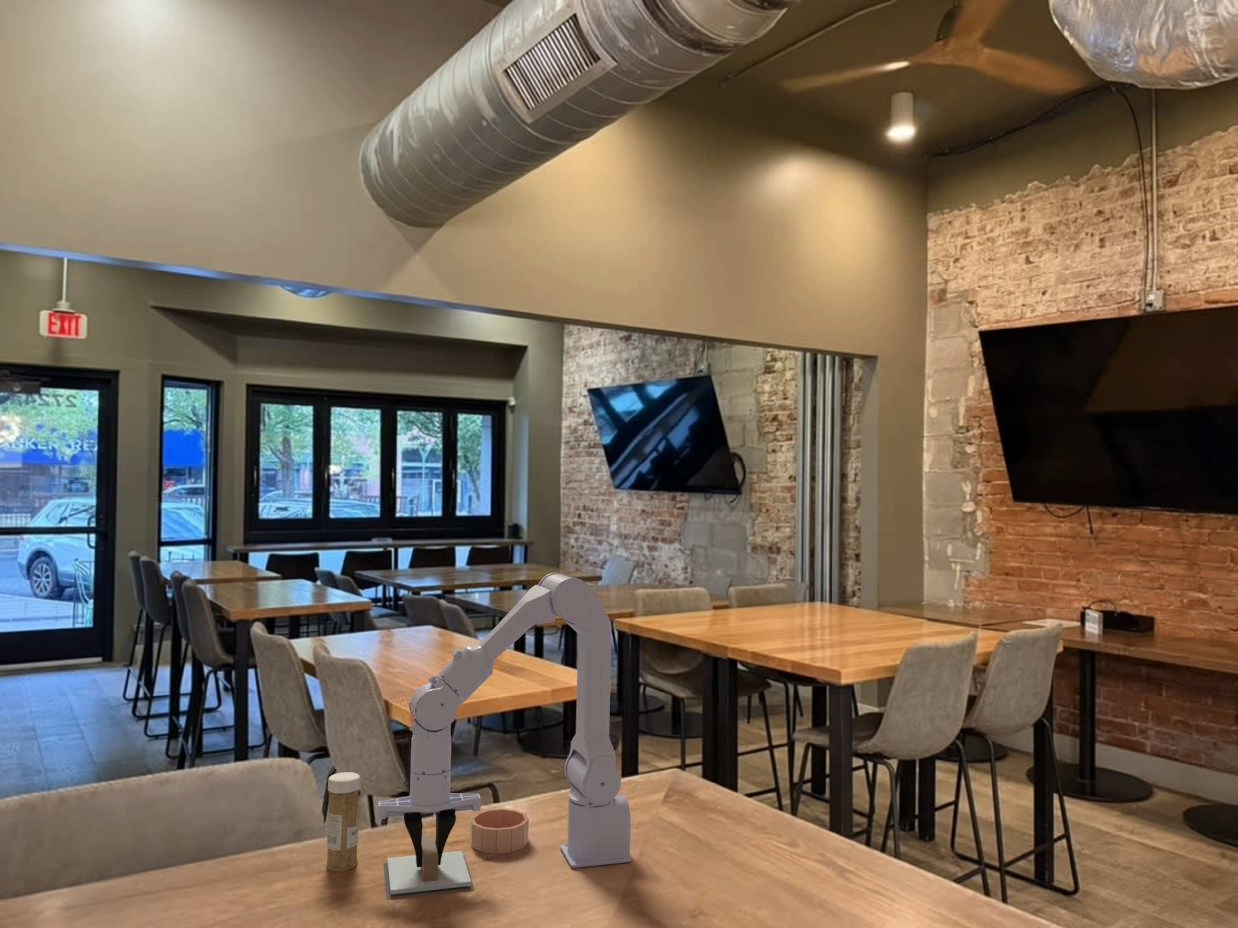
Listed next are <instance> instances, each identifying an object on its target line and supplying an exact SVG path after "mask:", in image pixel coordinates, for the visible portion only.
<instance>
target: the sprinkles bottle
mask: <svg viewBox="0 0 1238 928" xmlns="http://www.w3.org/2000/svg"><path fill="white" fill-rule="evenodd" d="M327 781H328V782H327V791H328V809H327V811H328V812H327V832H326V833H327V836H326V846H327V852H326V853H327V856H326V857H327V859H326V863H325V867H326V869H327V870H328V871H332V872H345V871H348V870H352V869H354V868H355V867H357V865H358V843H359V842H358V841H359V840H358V838H359V837H358V835H359V792H360V788H361V775H360V774H358V773H356V772H351V771H350V772H349V771H348V772H347V771H346V772H344V771H343V772H337V773H334V774H332V775H331V776H329V777H328V780H327Z"/></svg>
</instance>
